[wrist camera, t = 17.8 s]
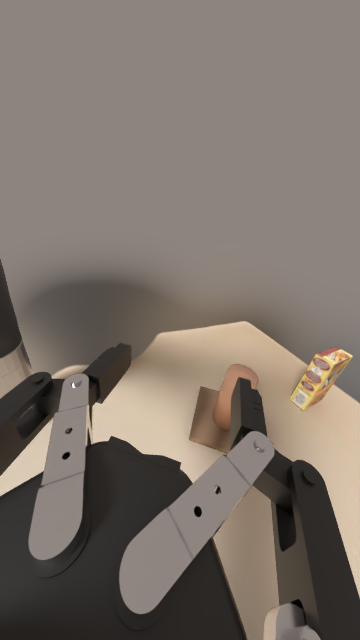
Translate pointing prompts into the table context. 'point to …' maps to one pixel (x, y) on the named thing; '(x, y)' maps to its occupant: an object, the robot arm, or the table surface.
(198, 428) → the walnut pad
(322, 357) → the candy box
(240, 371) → the orange tan cylinder
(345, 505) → the table surface
